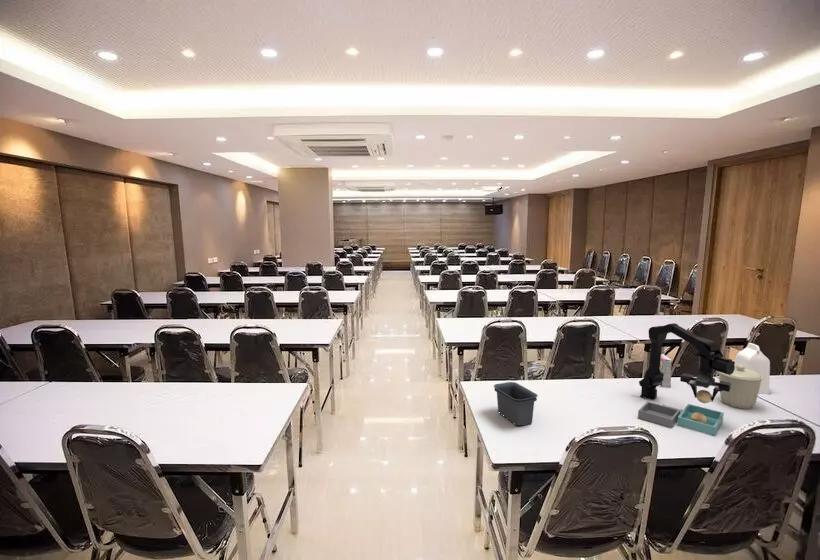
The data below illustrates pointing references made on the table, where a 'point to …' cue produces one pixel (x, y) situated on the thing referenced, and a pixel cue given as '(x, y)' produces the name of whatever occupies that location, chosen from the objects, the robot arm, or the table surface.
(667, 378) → the candy bar box
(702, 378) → the robot arm
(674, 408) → the pattern card
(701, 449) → the table surface
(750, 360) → the milk
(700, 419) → the maple ball resting
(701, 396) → the maple ball
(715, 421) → the holder
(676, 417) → the tray
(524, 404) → the storage bin
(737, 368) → the canister
